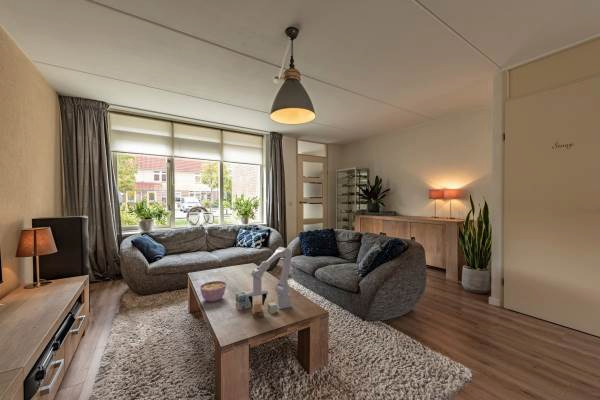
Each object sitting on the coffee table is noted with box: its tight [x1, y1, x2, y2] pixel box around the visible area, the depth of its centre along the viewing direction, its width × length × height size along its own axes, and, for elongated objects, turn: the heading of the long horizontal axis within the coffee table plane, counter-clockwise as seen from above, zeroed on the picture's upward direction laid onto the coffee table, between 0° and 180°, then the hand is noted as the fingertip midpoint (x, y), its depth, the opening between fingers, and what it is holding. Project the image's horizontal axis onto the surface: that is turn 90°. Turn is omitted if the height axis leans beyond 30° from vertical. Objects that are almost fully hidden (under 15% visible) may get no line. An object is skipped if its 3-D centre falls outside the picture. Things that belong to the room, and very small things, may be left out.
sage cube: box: [267, 301, 278, 315], centre depth 172 cm, size 5×5×6 cm
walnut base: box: [251, 306, 265, 319], centre depth 167 cm, size 7×7×4 cm
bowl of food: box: [199, 280, 227, 303], centre depth 193 cm, size 20×20×12 cm
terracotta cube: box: [253, 300, 262, 312], centre depth 167 cm, size 5×5×6 cm
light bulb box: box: [235, 289, 253, 311], centre depth 180 cm, size 11×7×11 cm, turn 126°
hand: (257, 305), depth 167 cm, fingers open, 7 cm apart
